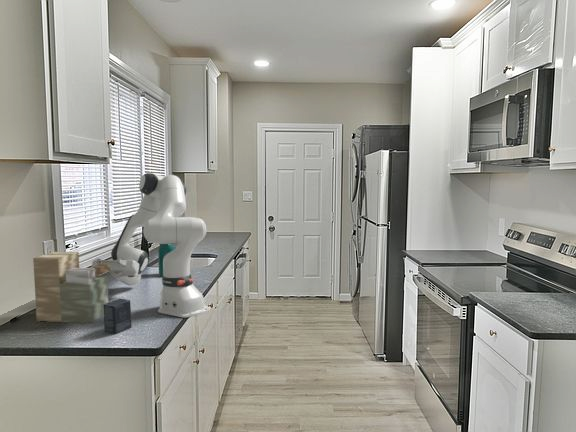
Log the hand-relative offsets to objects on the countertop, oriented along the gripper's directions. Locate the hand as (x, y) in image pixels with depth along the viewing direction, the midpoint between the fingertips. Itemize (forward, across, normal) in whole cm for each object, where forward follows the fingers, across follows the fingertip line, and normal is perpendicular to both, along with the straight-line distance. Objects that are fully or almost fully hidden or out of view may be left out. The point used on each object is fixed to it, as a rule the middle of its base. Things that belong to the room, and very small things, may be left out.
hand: (107, 260), depth 189 cm
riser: (+8, -6, +26) cm, 28 cm away
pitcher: (-55, +8, -9) cm, 56 cm away
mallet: (+10, 0, +10) cm, 14 cm away
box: (+19, +20, +33) cm, 43 cm away
